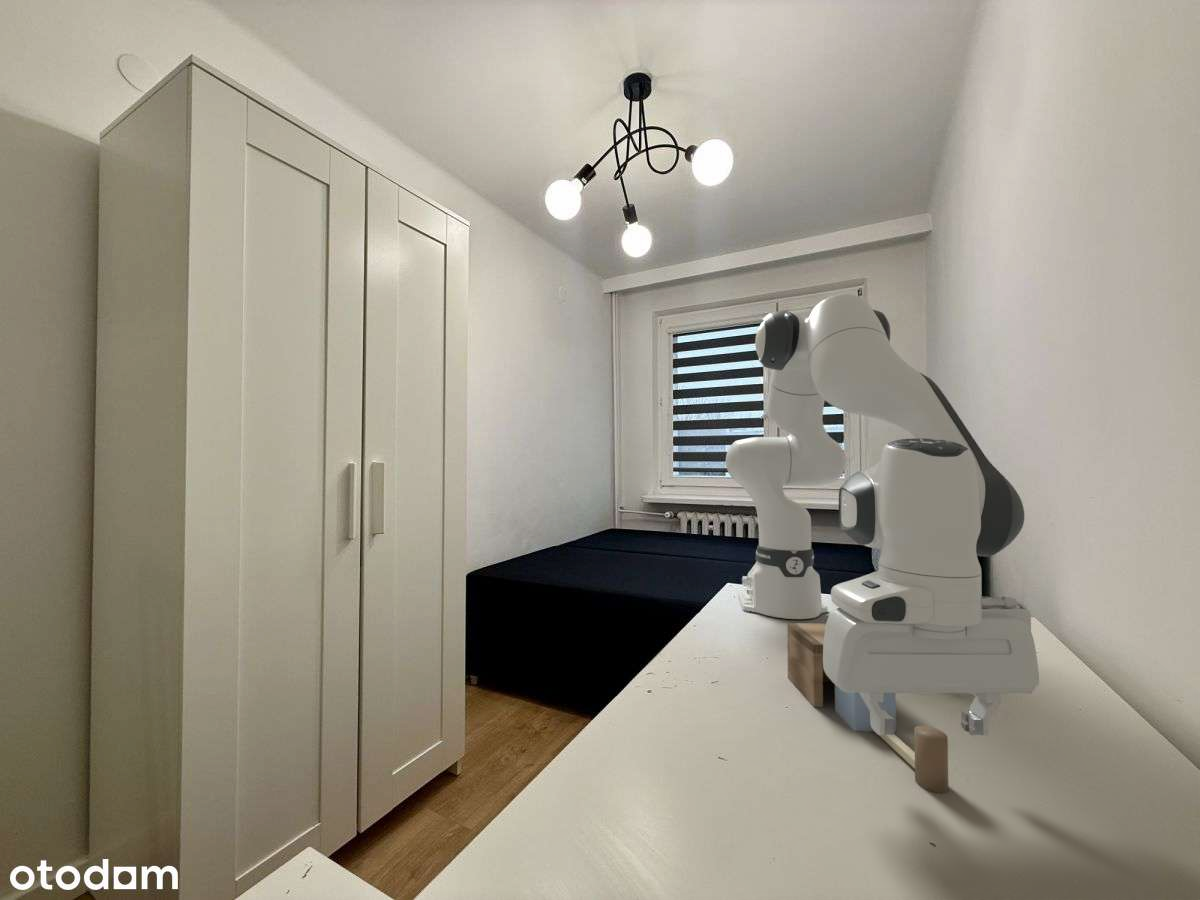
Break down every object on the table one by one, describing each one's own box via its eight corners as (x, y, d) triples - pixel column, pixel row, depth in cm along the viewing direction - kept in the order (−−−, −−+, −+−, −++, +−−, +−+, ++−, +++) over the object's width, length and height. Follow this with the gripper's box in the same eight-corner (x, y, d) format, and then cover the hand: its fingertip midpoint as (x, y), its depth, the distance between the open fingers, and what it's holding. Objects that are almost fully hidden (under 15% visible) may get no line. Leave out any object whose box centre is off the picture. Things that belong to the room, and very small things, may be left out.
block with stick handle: (835, 711, 65) (834, 672, 65) (873, 711, 65) (872, 672, 65) (915, 792, 48) (914, 740, 49) (966, 793, 48) (965, 740, 49)
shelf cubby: (787, 677, 75) (787, 623, 75) (852, 678, 75) (852, 623, 75) (813, 706, 66) (813, 644, 66) (888, 707, 66) (887, 645, 66)
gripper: (1003, 588, 54) (1004, 716, 54) (816, 587, 54) (816, 715, 54) (1057, 606, 48) (1058, 751, 47) (844, 604, 48) (845, 749, 47)
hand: (928, 732), depth 50 cm, fingers open, 8 cm apart
